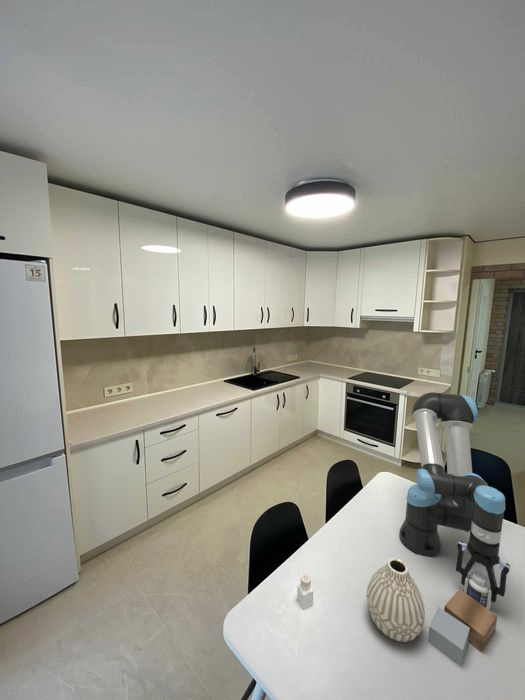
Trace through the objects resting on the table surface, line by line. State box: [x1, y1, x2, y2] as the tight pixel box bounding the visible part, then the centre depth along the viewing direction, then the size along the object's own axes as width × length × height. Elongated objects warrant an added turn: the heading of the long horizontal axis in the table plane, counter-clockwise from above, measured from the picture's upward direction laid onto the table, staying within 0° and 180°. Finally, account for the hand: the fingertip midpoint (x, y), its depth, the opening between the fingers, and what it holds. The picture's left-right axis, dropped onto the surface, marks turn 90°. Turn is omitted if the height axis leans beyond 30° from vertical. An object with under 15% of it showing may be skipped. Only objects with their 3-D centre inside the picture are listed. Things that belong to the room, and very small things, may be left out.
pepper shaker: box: [296, 573, 314, 610], centre depth 93 cm, size 4×4×10 cm
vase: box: [366, 557, 426, 643], centre depth 86 cm, size 16×16×20 cm
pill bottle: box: [467, 570, 490, 607], centre depth 94 cm, size 5×5×10 cm
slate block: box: [427, 606, 470, 667], centre depth 82 cm, size 8×8×6 cm
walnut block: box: [443, 588, 498, 653], centre depth 87 cm, size 10×10×6 cm
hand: (476, 600), depth 94 cm, fingers closed on pill bottle, 5 cm apart
